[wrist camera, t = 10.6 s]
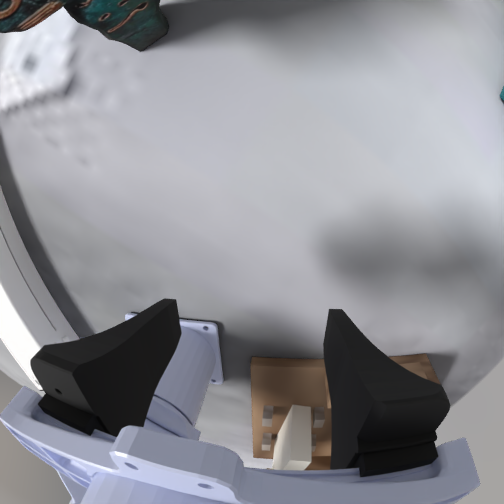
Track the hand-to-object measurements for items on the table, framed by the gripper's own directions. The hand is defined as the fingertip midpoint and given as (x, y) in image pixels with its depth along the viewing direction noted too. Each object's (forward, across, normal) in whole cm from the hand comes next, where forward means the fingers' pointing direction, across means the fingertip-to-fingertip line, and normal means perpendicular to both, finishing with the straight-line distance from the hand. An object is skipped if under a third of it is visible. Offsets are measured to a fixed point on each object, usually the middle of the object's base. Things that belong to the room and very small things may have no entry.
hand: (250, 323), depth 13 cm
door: (+8, -4, +21) cm, 23 cm away
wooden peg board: (+9, -9, +21) cm, 24 cm away
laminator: (+10, +33, +3) cm, 35 cm away
